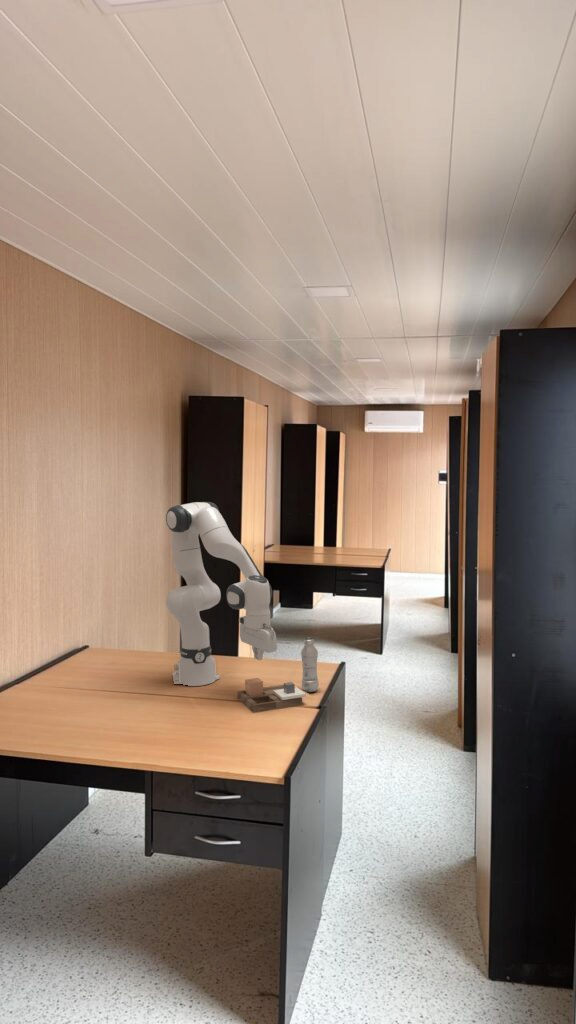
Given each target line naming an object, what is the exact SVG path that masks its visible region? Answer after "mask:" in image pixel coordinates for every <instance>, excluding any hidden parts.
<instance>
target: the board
mask: <svg viewBox="0 0 576 1024" xmlns="http://www.w3.org/2000/svg"><path fill="white" fill-rule="evenodd" d="M279 689H284V684H278V685H271V686H263V694H262V695H255V696H248V695H246V690H245V689H243V690H237V691H236V693H237V699H238V700H239V702H241V703H242V704H243V705H244V706H246V708H248V710H250V711H251V712H252V713H261V712H268V711H274V710H279V709H280V710H281V709H286V708H292V707H299V706H303V697H300V698H293V699H287V700H281V699H280V698H279V697H277V696H276V695H275V694H273V690H279Z"/></svg>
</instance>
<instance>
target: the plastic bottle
mask: <svg viewBox="0 0 576 1024" xmlns="http://www.w3.org/2000/svg"><path fill="white" fill-rule="evenodd" d="M314 641H315V640H314V638H312V637H305V638H303V644H304V646H303V647H302V649H301V651H300V657H301V663H302V679H301V689H302V691H303V692H304V693H313V692H317V691H318V689H319V687H320V686H319V679H318V672H317V669H318V657H319V656H318V655H319V652H318V649H317V648H316V646H315V642H314Z"/></svg>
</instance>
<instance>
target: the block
mask: <svg viewBox="0 0 576 1024" xmlns="http://www.w3.org/2000/svg"><path fill="white" fill-rule="evenodd" d="M244 684H245V686H244V687H245V689H244V690H246V695H248V696H255V695H262V694H263V687H264V681H263V680H262V679H260V678H259V677H256V678H255V677H254V678H246V679H244Z"/></svg>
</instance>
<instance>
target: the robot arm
mask: <svg viewBox="0 0 576 1024" xmlns="http://www.w3.org/2000/svg"><path fill="white" fill-rule="evenodd" d="M165 522H166V526H167V527H168V529H169V530H171V550H172V556H173V557H172V558H173V563H174V570H175V572H176V573H177V574H178V575H180V576H181V577H182V578H183V579H184V581H185V582H186V585H183V586H178V587H177V588H175V589H173V590H171V591H169V592H168V593H167V595H166V598H165V605H166V608H167V610H168V612H169V613H170V614H172V615H173V616H174V617H175V619H176V620H177V623H178V626H179V629H180V636H181V638H180V640H181V647H180V657H179V659H178V661H177V664H176V663H175V664H173V670H174V672H172V681H174V683H175V684H183V685H182V686H185V685H188V686H187V687H198V686H199V687H200V686H205V685H209V684H212V683H215V681H217V680H220V678H221V676H220V675H219V674H217V671H216V670H217V669H216V659H215V658H214V657H213V656H212V655H211V654H212V647H211V644H210V643H211V642H210V628H209V625H208V624H207V623H206V622H205V621H203V620H202V618H201V616H200V612H201V611H205V610H209V609H211V608H213V607H215V606H216V605H218V604H219V603H220V601H221V598H222V597H221V596H222V595H221V594H222V593H221V589H220V587H219V586H218V584H216V583H215V582H213V580H212V579H211V578H210V577H209V575H208V574H207V572H206V570H205V567H204V562H203V558H202V551H201V544H200V539H201V542H202V545H203V547H204V549H205V550H206V552H207V553H208V554H209V555H211V556H212V557H215V558H218V559H222V560H226V561H230V562H232V563H233V564H235V565H236V566H237V567H238V568H239V570H240V571H241V573H242V575H243V577H244V578H245V579H244V580H242V581H239V582H236V583H233V584H230V585H229V586H228V588H227V590H226V593H225V597H226V599H225V600H226V603H227V604H228V605H229V607H230V608H232V609H233V610H245V615H243V616H239V618H238V623H239V624H240V625H239V638H240V641H241V642H242V643H245V644H247V645H249V646H251V650H252V652H253V657H254V659H256V661H261V660H263V655H264V652H266V653H268V654H270V653H275V652H277V649H278V646H277V645H278V644H277V643H278V642H277V634H276V632H275V630H274V629H273V627H272V625H271V610H270V604H271V599H272V596H273V589H272V586H271V584H270V583H269V580H268V579H267V578H266V577H265V576H263V575H262V573H261V571H260V570H259V568H258V566H257V565H256V563H255V561H254V560H253V559H252V557H251V555H250V553H249V552H248V550H247V549H246V547H245V546H244V544H241V543H240V542H239V541H238V540H237V539H236V538H235V537H234V535H233V534H232V532H231V531H230V528H229V527H228V525H227V522H226V520H225V519H224V517H223V515H222V513H220V510H219V507H218V505H216V504H215V503H214V502H211V501H202V502H201V501H200V502H199V501H197V502H196V501H195V502H190V503H184V504H177V505H173V506H171V507H169V508H168V510H167V511H166V515H165ZM199 537H200V539H199ZM174 683H173V684H174Z"/></svg>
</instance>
